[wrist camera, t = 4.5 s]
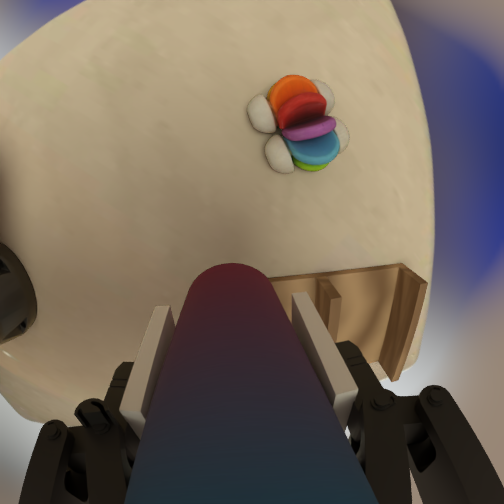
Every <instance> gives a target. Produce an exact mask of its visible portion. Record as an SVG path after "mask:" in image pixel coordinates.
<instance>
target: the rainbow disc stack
mask: <svg viewBox="0 0 504 504" xmlns="http://www.w3.org/2000/svg"><path fill="white" fill-rule="evenodd" d="M334 103H335V97H334V94H333V91H332V90H331V88H330V87H329V86H328V85H327V84H326V83H324V82H322V81H320V80H309V79H307V78H305V77H303V76H299V75H287V76H285V77H283V78H282V79H280V80H279V81H278V82H277V83H275V84H274V85H273V86H272V87H271V88H270V90H269V92H268V95H267V98H265V97H264V96H263V95H262V94H258V95H257V96H255V97H254V98H253V99H252V100H251V101H250V103H249V105H248V107H247V112H248V116H249V118H250V121H251V123H252V125H253V127H254V128H255V129H257V130H258V131H260V132H264V133H274V132H275V131H276V127H277V126H279V128H280V129H282V135H283V137H281V136H280V135H278V134H275V135H273V136H272V137H271V138H270V139H269V140H268V142H267V144H266V146H265V154H266V157H267V160H268V162H269V164H270V166H271V167H272V168H273V169H274V170H275V171H277V172H280V173H286V174H287V173H293V172H294V165H296V166H298V167H299V168H301V169H303V170H306V171H319V170H321V169H323V168H325V167H326V166H327V165H328V164H329V162H331V161H332V160H333V159H334V158H335V157H336V156H337V154H340V153H341V152H343V151H344V150H345V149H346V147H347V145H348V143H349V138H350V137H349V131H348V129H347V127H346V125H345V124H344V123H343V122H342V121H341V120H340V119H338V118H336V117H332V116H327V115H328V114H329V113H330V112H331V110H332V109H333V107H334ZM293 163H294V165H293Z"/></svg>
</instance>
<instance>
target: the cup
mask: <svg viewBox="0 0 504 504" xmlns="http://www.w3.org/2000/svg"><path fill="white" fill-rule="evenodd" d="M124 504H379V503H378V501H377V499H376V497H375V494H374V492H373V490H372V488H371V486H370V484H369V482H368V480H367V478H366V476H365V474H364V472H363V469H362V467H361V465H360V463H359V461H358V459H357V457H356V455H355V453H354V451H353V449H352V447H351V445H350V443H349V441H348V439H347V436H346V435H345V432H344V430H343V428H342V426H341V424H340V422H339V420H338V418H337V416H336V414H335V412H334V410H333V408H332V406H331V404H330V402H329V400H328V397H327V395H326V393H325V391H324V389H323V387H322V385H321V383H320V381H319V379H318V377H317V375H316V373H315V371H314V369H313V367H312V365H311V363H310V361H309V359H308V357H307V355H306V353H305V350H304V348H303V346H302V344H301V342H300V340H299V338H298V336H297V334H296V332H295V330H294V328H293V326H292V324H291V322H290V320H289V318H288V316H287V314H286V312H285V310H284V308H283V306H282V304H281V302H280V300H279V298H278V296H277V294H276V292H275V290H274V288H273V286H272V284H271V282H270V281H269V279H268V278H267V277H266V276H265V275H264V274H262V273H261V272H260V271H259V270H257V269H255V268H253V267H251V266H247V265H244V264H237V263H227V264H221V265H217V266H214V267H211V268H209V269H207V270H205V271H204V272H203V273H201V274H200V275H199V276H198V277H197V278H196V279H195V280H194V282H193V283H192V285H191V287H190V289H189V291H188V294H187V297H186V300H185V302H184V305H183V308H182V311H181V314H180V316H179V319H178V322H177V325H176V328H175V331H174V334H173V336H172V339H171V342H170V345H169V348H168V351H167V354H166V357H165V360H164V363H163V366H162V369H161V373H160V376H159V379H158V382H157V385H156V388H155V392H154V395H153V398H152V401H151V405H150V408H149V411H148V415H147V418H146V421H145V425H144V428H143V432H142V435H141V439H140V443H139V446H138V450H137V454H136V457H135V461H134V465H133V469H132V473H131V477H130V481H129V485H128V489H127V493H126V498H125V502H124Z"/></svg>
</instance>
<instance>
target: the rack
mask: <svg viewBox="0 0 504 504" xmlns="http://www.w3.org/2000/svg"><path fill="white" fill-rule="evenodd" d="M268 279H269V281H270V282H271V284H272V286H273V288H274V290H275V292H276V294H277V296H278V298H279V300H280V302H281V304H282V306H283V308H284V310H285V312H286V314H287V316H288V318H289V320H290V322H291V324H292V293H300V292H307V293H308V295H309V297H310V299H311V301H312V302H313V304H314V306H315V308H316V310H317V312H318V313H319V315H320V317H321V319H322V321H323V323H324V325H325V326H326V328H327V330H328V332H329V334H330V336H331V338H332V339H333V341H334V343H337V342H342V341H347V340H349V341H351V342H352V343H354V344H355V345H356V346H358V348H359V349H360V351H361V352H362V354H363V356H364V357H365V359H366V361H367V363H372V362H376V361H378V362H379V363H380V365H381V366H382V368H383V369H384V371H385V372H386V374H387V376H388V377H389V379H390V380H391V382H394V381H397V380H398V379H399V377H400V374H401V372H402V369H403V366H404V364H405V361H406V358H407V355H408V352H409V349H410V346H411V343H412V340H413V337H414V334H415V331H416V327H417V324H418V320H419V317H420V313H421V309H422V306H423V302H424V297H425V293H426V289H427V285H428V283H427V282H426V281H425V280H424V279H422V278H421V277H420V276H418V275H417V274H416V273H414V272H413V271H412V270H410V269H409V268H408V267H406V266H405V265H404V264H402V263H400V264H392V265H384V266H376V267H368V268H360V269H351V270H343V271H334V272H325V273H316V274H306V275H297V276H287V277H276V278H268Z"/></svg>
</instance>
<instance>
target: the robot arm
mask: <svg viewBox="0 0 504 504" xmlns="http://www.w3.org/2000/svg"><path fill="white" fill-rule="evenodd" d="M36 310H37V308H36V299H35V294H34V291H33V287H32V285H31V282H30V280H29V277H28V275H27V273H26V271H25V269H24V268H23V266H22V264H21V263H20V261H19V260H18V259H17V257H16V256H15V255H14V254H13V253H12V252H11V251H10V250H9V249H8V248H7V247H6V246H5V245H3V244H1V243H0V345H1V344H3V343H6V342H8V341H10V340H12V339H14V338H16V337H18V336H21V335H22V334H24V333H25V332H26V331H27V330H28V329H29V328H30V326H31V325H32V324H33V323H34V321H35V318H36ZM292 326H293V328H294V330H295V332H296V334H297V336H298V338H299V340H300V342H301V344H302V346H303V348H304V350H305V353H306V355H307V357H308V359H309V361H310V363H311V365H312V367H313V369H314V371H315V373H316V375H317V377H318V379H319V381H320V383H321V385H322V387H323V389H324V391H325V393H326V395H327V397H328V400H329V402H330V404H331V406H332V408H333V410H334V412H335V414H336V416H337V418H338V420H339V422H340V424H341V426H342V428H343V430H344V432H345V430H346V427H347V426H348V429H349V431H350V437H349V439H348V441H349V443H350V445H351V447H352V449H353V451H354V453H355V455H356V457H357V459H358V461H359V463H360V465H361V467H362V469H363V472H364V474H365V476H366V478H367V480H368V482H369V484H370V486H371V488H372V490H373V492H374V494H375V497H376V499H377V501H378V503H379V504H412V495H411V494H412V493H411V480H410V470H411V473H412V475H413V478H414V481H415V483H416V485H417V488H418V491H419V494H420V496H421V499H422V502H423V504H504V487H503V485H502V483H501V481H500V479H499V477H498V475H497V473H496V471H495V469H494V467H493V465H492V463H491V461H490V459H489V458H488V456H487V454H486V452H485V450H484V449H483V447H482V445H481V443H480V441H479V440H478V438H477V436H476V435H475V433H474V431H473V430H472V428H471V426H470V425H469V423H468V421H467V420H466V418H465V416H464V415H463V413H462V412H461V410H460V408H459V407H458V405H457V404H456V402H455V401H454V399H453V398H452V396H451V395H450V393H449V392H448V391H447V390H446V389H445V388H443V387H441V386H438V385H431V386H427V387H426V388H424V389H423V390H422V391H421V393H420V394H419V395H417V396H397V395H395V394H394V393H393V392H392V391H390V390H387V389H384V388H383V387H382V386H381V384H380V382H379V380H378V379H377V377H376V375H375V374H374V372H373V370H372V369H371V367H370V365H369V364H368V363H367V361H366V359H365V357H364V356H363V354H362V352H361V351H360V349H359V348H358V346H356V345H355V344H354V343H352V342H351V341H349V340H347V341H342V342H337V343H334V341H333V339H332V338H331V336H330V334H329V332H328V330H327V328H326V326H325V325H324V323H323V321H322V319H321V317H320V315H319V313H318V312H317V310H316V308H315V306H314V304H313V302H312V301H311V299H310V297H309V295H308V293H307V292H300V293H292ZM174 331H175V324H174V320H173V316H172V312H171V308H170V305H165V306H155V308H154V311H153V314H152V316H151V319H150V321H149V324H148V327H147V329H146V332H145V335H144V337H143V340H142V343H141V345H140V348H139V351H138V354H137V357H136V359H135V362H123V363H122V364H121V365H120V366H119V367H118V368H117V369H116V370H115V373H114V375H113V378H112V379H113V380H112V381H111V383H110V387H109V388H108V391H107V394H106V396H105V399H104V401H102V400H100V399H95V398H91V399H87V400H85V401H83V402H82V403H80V404H79V405H78V406H77V408H76V410H75V413H74V415H75V416H76V417H77V419H78V420H79V421H80V423H81V424H82V425H83V426H75V427H67V426H66V425H65V424H64V423H63V422H62V421H60V420H51V421H48V422H47V423H45V424H44V425H43V427H42V428H41V430H40V433H39V436H38V439H37V441H36V444H35V447H34V450H33V453H32V456H31V459H30V462H29V466H28V469H27V472H26V476H25V479H24V483H23V487H22V491H21V495H20V500H19V504H124V502H125V498H126V493H127V489H128V485H129V481H130V477H131V473H132V469H133V465H134V461H135V457H136V454H137V450H138V446H139V443H140V439H141V435H142V432H143V428H144V425H145V421H146V418H147V415H148V411H149V408H150V405H151V401H152V398H153V395H154V392H155V388H156V385H157V382H158V379H159V376H160V373H161V369H162V366H163V363H164V360H165V357H166V354H167V351H168V348H169V345H170V342H171V339H172V336H173V334H174ZM409 468H410V469H409Z"/></svg>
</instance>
